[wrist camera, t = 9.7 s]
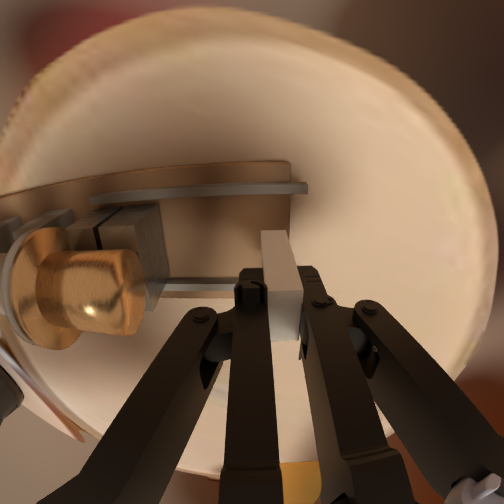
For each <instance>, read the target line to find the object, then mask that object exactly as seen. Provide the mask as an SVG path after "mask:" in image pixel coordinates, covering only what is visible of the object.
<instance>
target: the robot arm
mask: <svg viewBox="0 0 504 504" xmlns="http://www.w3.org/2000/svg"><path fill="white" fill-rule="evenodd" d="M234 299H235V306H234V307H233V308H232V309H231V310H229V311H226V312H223V313H219V314H217V313H216V311H215V310H213V309H212V308H209V307H197V308H193V309H191V310H189V311H188V312H187V313H186V314H185V316H184V317H183V318H182V320H181V321H180V323H179V324H178V326H177V327H176V329H175V330H174V331H173V333H172V334H171V336H170V337H169V339H168V340H167V342H166V343H165V344H164V346H163V347H162V349H161V350H160V352H159V353H158V355H157V356H156V358H155V359H154V360H153V362H152V363H151V365H150V366H149V368H148V369H147V371H146V372H145V374H144V375H143V377H142V378H141V380H140V381H139V383H138V384H137V386H136V387H135V389H134V390H133V392H132V393H131V395H130V396H129V397H128V399H127V400H126V402H125V403H124V405H123V407H122V408H121V410H120V411H119V413H118V414H117V416H116V417H115V419H114V420H113V422H112V423H111V425H110V426H109V428H108V429H107V431H106V432H105V434H104V435H103V437H102V438H101V440H100V442H99V443H98V445H97V446H96V448H95V449H94V451H93V452H92V454H91V456H90V457H89V459H88V460H87V462H86V463H85V465H84V466H83V468H82V470H81V471H80V473H79V474H78V475H77V476H75V477H74V478H72V479H71V480H70V481H68V482H67V483H65V484H64V485H62V486H61V487H59V488H58V489H56V490H55V491H54V492H52V493H51V494H49V495H48V496H46V497H45V498H43V499H41V500H40V501H38V502H37V503H36V504H159V502H160V500H161V498H162V496H163V494H164V492H165V490H166V487H167V485H168V483H169V481H170V479H171V477H172V475H173V473H174V470H175V468H176V466H177V464H178V462H179V460H180V458H181V456H182V453H183V451H184V449H185V447H186V445H187V443H188V441H189V438H190V436H191V434H192V432H193V430H194V427H195V425H196V423H197V421H198V419H199V416H200V414H201V412H202V410H203V408H204V405H205V403H206V401H207V399H208V396H209V394H210V392H211V390H212V388H213V385H214V383H215V381H216V378H217V376H218V374H219V372H220V369H221V367H222V365H223V361H225V360H229V359H231V364H230V377H229V392H228V406H227V421H226V437H225V453H224V465H223V468H222V470H221V474H220V486H219V501H218V502H219V503H218V504H284V496H283V481H282V472H281V468H280V462H279V448H278V433H277V419H276V405H275V391H274V378H273V365H272V352H271V341H293V340H299V333H300V337H301V344H300V352H299V360H301V357H302V362H303V367H304V373H305V379H306V384H307V390H308V396H309V402H310V408H311V414H312V421H313V427H314V433H315V440H316V447H317V453H318V460H319V467H320V475H321V483H322V484H321V493H320V500H321V504H419V503H417V502H416V501H415V500H414V496H413V492H412V488H411V485H410V481H409V478H408V474H407V471H406V468H405V464H404V461H403V458H402V456H401V454H400V452H399V451H398V450H397V449H393V448H390V447H389V445H388V443H387V440H386V437H385V434H384V430H383V427H382V424H381V421H380V418H379V415H378V412H377V409H376V406H375V403H374V401H375V402H376V404H377V405H378V407H379V408H380V410H381V411H382V413H383V414H384V416H385V417H386V419H387V420H388V422H389V423H390V425H391V426H392V428H393V429H394V431H395V433H396V434H397V435H398V437H399V439H400V440H401V442H402V443H403V445H404V446H405V448H406V449H407V451H408V452H409V454H410V455H411V457H412V458H413V460H414V462H415V463H416V465H417V466H418V468H419V469H420V471H421V473H422V474H423V476H424V477H425V479H426V480H427V481H428V483H429V484H430V486H431V487H432V488H433V489H434V490H435V491H436V492H437V493H438V494H439V495H440V496H441V497H443V498H444V499H445V500H446V501H445V503H444V504H504V438H503V437H501V436H500V435H498V434H497V432H496V431H495V430H494V429H493V427H492V426H491V425H490V424H489V422H488V421H487V420H486V419H485V417H484V416H483V415H482V414H481V413H480V411H479V410H478V409H477V408H476V407H475V405H474V404H473V403H472V402H471V401H470V399H469V398H468V397H467V396H466V395H465V394H464V392H463V391H462V390H461V389H460V388H459V387H458V386H457V384H456V383H455V382H454V381H453V380H452V379H451V378H450V377H449V375H448V374H447V373H446V372H445V371H444V370H443V369H442V368H441V367H440V365H439V364H438V363H437V362H436V361H435V360H434V359H433V358H432V357H431V356H430V355H429V354H428V352H427V351H426V350H425V349H424V348H423V347H422V346H421V345H420V344H419V343H418V342H417V341H416V340H415V339H414V338H413V337H412V336H411V335H410V333H409V332H408V331H407V330H406V329H405V328H404V327H403V326H402V325H401V324H400V323H399V322H398V321H397V320H396V319H395V318H394V317H393V316H392V315H391V314H390V313H389V312H388V311H387V310H386V309H385V308H384V307H383V306H382V305H380V304H379V303H378V302H375V301H372V300H361V301H359V302H357V303H356V304H355V307H354V308H347V307H342V306H339V305H337V303H336V301H335V300H334V298H332V297H331V296H329V295H327V293H326V290H325V288H324V285H323V283H322V280H321V278H320V275H319V273H318V271H317V270H316V269H315V268H314V267H313V266H297V265H296V262H295V259H294V255H293V252H292V249H291V246H290V242H289V239H288V236H287V233H286V230H261V268H243V269H242V271H241V272H240V273H239V282H238V283H237V284H236V285H235V287H234ZM374 346H375V347H374ZM373 399H374V400H373ZM23 400H24V398H23V395H22V393H21V391H20V390H19V388H18V387H17V386H16V384H15V383H14V382H13V381H12V379H11V378H10V377H9V376H8V375H7V374H6V373H5V372H4V371H3V370H2V369H1V368H0V425H1V423H2V421H3V420H4V418H6V417H7V416H8V415H9V414H10V413H12V412H13V411H14V410H15V409H16V408H18V407H19V406H20V405H21V403H22V401H23Z"/></svg>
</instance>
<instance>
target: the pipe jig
mask: <svg viewBox="0 0 504 504" xmlns="http://www.w3.org/2000/svg"><path fill="white" fill-rule="evenodd" d="M290 171H291V164H290V163H289V162H233V163H212V164H197V165H184V166H172V167H162V168H153V169H144V170H136V171H128V172H121V173H114V174H107V175H101V176H95V177H89V178H83V179H78V180H73V181H67V182H62V183H58V184H53V185H48V186H44V187H39V188H35V189H31V190H27V191H23V192H19V193H15V194H12V195H8V196H4V197H1V198H0V315H3V316H7V318H8V321H9V323H10V325H11V326H12V328H13V329H14V331H15V332H16V333H17V334H18V335H19V336H20V337H21V338H22V339H23V340H24V341H26V342H28V343H30V344H32V345H36V344H34V343H33V342H31V341H30V340H29V339H28V338H27V337H26V336H25V335H24V333H23V332H22V331H21V329H20V327H19V326H18V324H17V321H16V319H15V317H14V314H13V310H12V307H11V302H10V293H9V280H10V271H11V267H12V263H13V260H14V257H15V254H16V252H17V250H18V248H19V247H20V245H21V244H22V242H23V241H24V240H25V239H26V237H27V236H29V235H30V234H31V233H32V232H34V231H36V230H38V229H41V228H50V227H59V228H63V229H66V228H67V227H69V226H70V225H71V224H73V223H74V222H76V221H77V220H79V219H80V218H82V217H83V216H85V215H86V214H88V213H90V212H91V211H93V210H94V209H97V208H107V207H117V206H123V208H125V207H126V206H128V205H139V204H152V203H159V210H160V217H161V224H162V231H163V238H164V244H165V250H166V256H167V262H168V267H169V273H170V277H169V279H168V281H167V283H166V285H165V287H164V289H163V291H162V293H161V295H160V297H159V298H234V287H235V285H236V284H237V283H238V282H239V273H240V272H241V271H242V269H243V268H261V230H286V233H287V236H288V239H289V230H290V194H308V184H307V183H306V182H290ZM36 346H38V345H36Z"/></svg>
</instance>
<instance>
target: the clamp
mask: <svg viewBox="0 0 504 504" xmlns="http://www.w3.org/2000/svg"><path fill="white" fill-rule="evenodd" d="M280 468H281V472H282V481H283V496H284V504H313V503H314V502H315V501H316V499H317V498H318V496H319V495H320V493H321V484H322V483H321V475H320V467H319V461H310V462H297V463H280Z"/></svg>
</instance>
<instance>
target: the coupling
mask: <svg viewBox="0 0 504 504" xmlns="http://www.w3.org/2000/svg"><path fill="white" fill-rule="evenodd" d="M169 277H170V273H169V267H168V262H167V256H166V250H165V244H164V238H163V231H162V224H161V217H160V210H159V203H152V204H139V205H128V206H126V207H125V208H123V206H117V207H107V208H97V209H94V210H93V211H91V212H90V213H88V214H86V215H85V216H83V217H82V218H80V219H79V220H77V221H76V222H74V223H73V224H71V225H70V226H69V227H67V228H66V229H63V228H59V227H50V228H41V229H38V230H36V231H34V232H32V233H31V234H30V235H29V236H27V237H26V239H25V240H24V241H23V242H22V244H21V245H20V247H19V248H18V250H17V252H16V254H15V257H14V260H13V263H12V267H11V271H10V280H9V293H10V302H11V307H12V310H13V314H14V317H15V319H16V321H17V324H18V326H19V327H20V329H21V331H22V332H23V333H24V335H25V336H26V337H27V338H28V339H29V340H30V341H31V342H33V343H34V344H36V345H38V346H40V347H44V348H48V349H52V350H62V349H65V348H67V347H69V346H70V345H72V344H73V343H74V342H75V341H76V340H77V338H78V337H79V336H80V334H81V332H82V330H83V331H90V332H98V333H106V334H115V335H125V336H130V335H132V334H134V333H135V332H136V331H137V329H138V328H139V326H140V324H141V321H142V318H143V314H144V310H147V311H153V310H154V308H155V306H156V304H157V302H158V299H159V297H160V295H161V293H162V291H163V289H164V287H165V285H166V283H167V281H168V279H169Z"/></svg>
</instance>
